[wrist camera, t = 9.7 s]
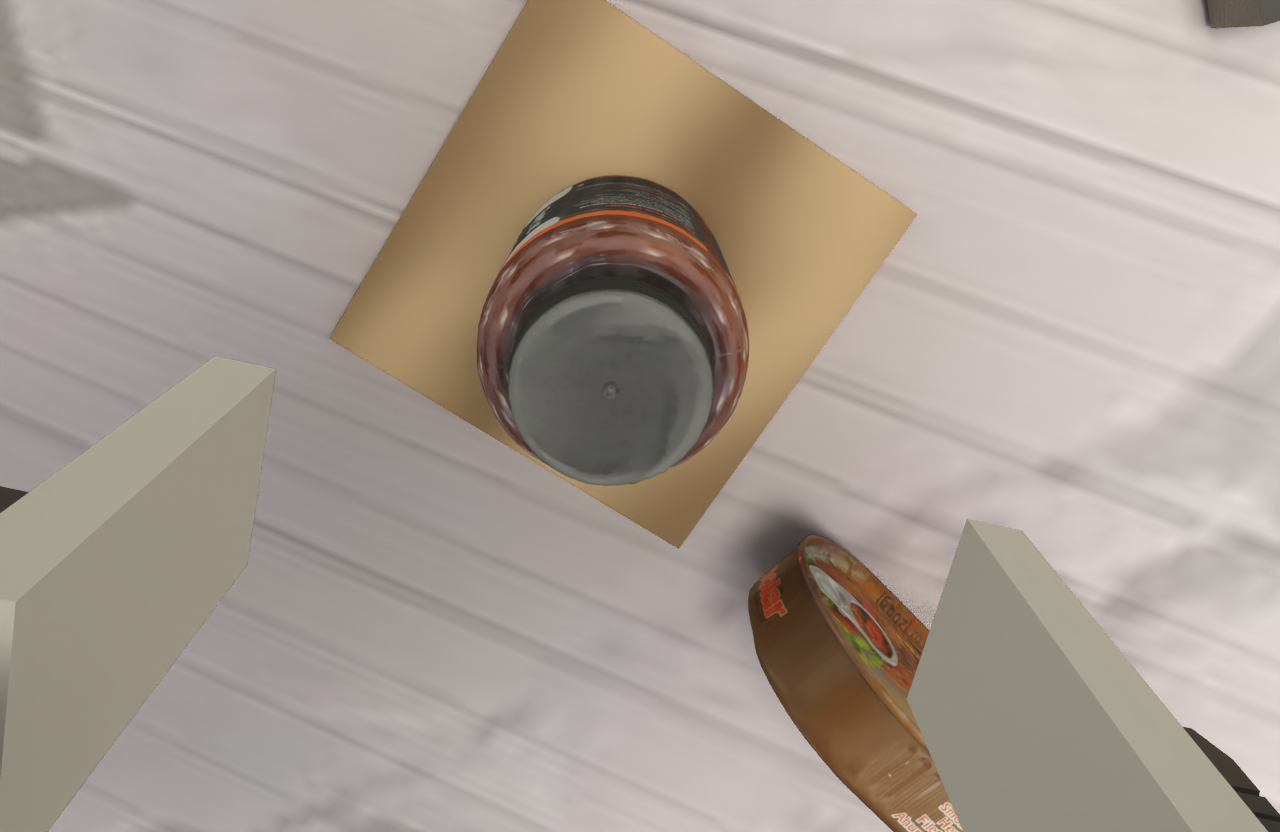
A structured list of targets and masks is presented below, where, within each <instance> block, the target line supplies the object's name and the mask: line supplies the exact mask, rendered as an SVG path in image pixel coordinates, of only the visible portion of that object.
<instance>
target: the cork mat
mask: <svg viewBox="0 0 1280 832" xmlns="http://www.w3.org/2000/svg"><path fill="white" fill-rule="evenodd" d="M606 175H622V176H632V177H639V178H643V179H646V180H650V181H653V182H655V183H658V184H660V185H662V186H664V187H666V188H668V189H670V190H672V191H674V192H676V193H677V194H678V195H680V196H681V197H682V198H684V199H685V200H686V201H687V202H688V203H689V204H690V205H691V206H692V207H693V208H694V209H695V210H696V211H697V212H698V213H699V215H700V216H701V217H702V219H703V220H704V221H705V223H706V225H707V226H708V228H709V229H710V231H711V232H712V234H713V235H714V237H715V239H716V241H717V243H718V245H719V248H720V250H721V252H722V255H723V257H724V259H725V262H726V264H727V266H728V269H729V272H730V274H731V277H732V279H733V282H734V284H735V285H736V289H737V292H738V294H739V296H740V299H741V302H742V306H743V308H744V311H745V315H746V320H747V326H748V333H749V359H748V368H747V374H746V379H745V383H744V386H743V390H742V393H741V396H740V398H739V400H738V403H737V406H736V407H735V410H734V412H733V413H732V415H731V417H730V418H729V420H728V421H727V422H726V424H725V425H724V427H723V428H722V430H721V431H720V432H719V434H718V435H717V436H716V437H715V438H714V439H713V440H712V442H710V443H709V444H708V445H707V446H706V447H705V448H704V449H702V450H701V451H700V452H698V453H697V454H696V455H694V456H693V457H691V458H690V459H689V460H687V461H685V462H684V463H682V464H680V465H679V466H677V467H675V468H673V469H671V470H668V471H666V472H664V473H662V474H659V475H657V476H655V477H652V478H650V479H646V480H643V481H640V482H638V483H636V484H625V485H610V486H602V485H592V484H586V483H583V482H580V481H577V480H574V479H572V478H569V477H567V476H565V475H563V474H561V473H559V472H558V471H556V470H554V469H553V468H551V467H550V466H548V465H546V464H544V463H543V462H541V461H540V460H539V459H537V458H534V457H533V456H531V455H530V454H528V453H527V452H526V451H525V450H524V449H523V448H522V447H520V446H519V445H518V444H516V442H515V441H514V440H513V439H512V438H511V437H510V436H509V435H508V434H507V432H506V431H505V430H504V428H503V427H502V425H501V424H500V423H499V422H498V420H497V418H496V417H495V415H494V413H493V411H492V409H491V407H490V405H489V403H488V401H487V398H486V396H485V393H484V391H483V387H482V384H481V380H480V376H479V372H478V369H477V338H478V325H479V321H480V317H481V313H482V309H483V306H484V303H485V301H486V298H487V296H488V293H489V291H490V289H491V287H492V285H493V282H494V280H495V278H496V277H497V275H498V273H499V271H500V269H501V267H502V266H503V264H504V263H505V261H506V259H507V258H508V256H509V254H510V253H511V251H512V249H513V247H514V245H515V243H516V241H517V239H518V237H519V235H520V234H521V232H522V230H523V229H524V228H525V226H526V225H527V224H528V222H529V221H530V219H531V218H532V217H533V216H534V214H535V213H536V212H537V211H538V210H539V209H540V208H541V207H542V206H543V205H544V204H545V203H546V202H547V201H549V200H550V199H551V198H552V197H553V196H555V195H557V194H558V193H559V192H561V191H562V190H564V189H566V188H568V187H570V186H572V185H575V184H577V183H579V182H582V181H584V180H587V179H591V178H595V177H600V176H606ZM916 216H917V214H916V213H915V212H913V211H912V210H910V209H909V208H907V207H906V206H904V205H903V204H902V203H900V202H899V201H897V200H896V199H894V198H893V197H891V196H890V195H888V194H887V193H885V192H884V191H883V190H881V189H880V188H878V187H877V186H875V185H874V184H872V183H871V182H869V181H868V180H867V179H865V178H864V177H862V176H861V175H859V174H858V173H856V172H855V171H853V170H852V169H850V168H849V167H848V166H846V165H845V164H843V163H842V162H840V161H839V160H837V159H836V158H834V157H833V156H831V155H830V154H829V153H827V152H826V151H824V150H823V149H821V148H820V147H818V146H817V145H815V144H814V143H813V142H811V141H810V140H808V139H807V138H805V137H804V136H802V135H801V134H799V133H798V132H796V131H795V130H794V129H792V128H791V127H789V126H788V125H786V124H785V123H783V122H782V121H780V120H779V119H777V118H776V117H775V116H773V115H772V114H770V113H769V112H767V111H766V110H764V109H763V108H761V107H760V106H759V105H757V104H756V103H754V102H753V101H751V100H750V99H748V98H747V97H745V96H744V95H742V94H741V93H740V92H738V91H737V90H735V89H734V88H732V87H731V86H729V85H728V84H726V83H725V82H723V81H722V80H721V79H719V78H718V77H716V76H715V75H713V74H712V73H710V72H709V71H707V70H706V69H705V68H703V67H702V66H700V65H699V64H697V63H696V62H694V61H693V60H691V59H690V58H688V57H687V56H686V55H684V54H683V53H681V52H680V51H678V50H677V49H675V48H674V47H672V46H671V45H670V44H668V43H667V42H665V41H664V40H662V39H661V38H659V37H658V36H656V35H655V34H653V33H652V32H651V31H649V30H648V29H646V28H645V27H643V26H642V25H640V24H639V23H637V22H636V21H634V20H633V19H632V18H630V17H629V16H627V15H626V14H624V13H623V12H621V11H620V10H618V9H617V8H616V7H614V6H613V5H611V4H610V3H608V2H607V1H605V0H528V2H527V3H526V5H525V7H524V9H523V10H522V12H521V14H520V15H519V17H518V19H517V20H516V22H515V24H514V26H513V27H512V29H511V31H510V32H509V34H508V36H507V37H506V39H505V41H504V43H503V44H502V46H501V48H500V49H499V51H498V53H497V54H496V56H495V58H494V59H493V61H492V63H491V65H490V66H489V68H488V70H487V71H486V73H485V75H484V76H483V78H482V80H481V82H480V83H479V85H478V87H477V88H476V90H475V92H474V93H473V95H472V97H471V99H470V100H469V102H468V104H467V105H466V107H465V109H464V110H463V112H462V114H461V116H460V117H459V119H458V121H457V122H456V124H455V126H454V127H453V129H452V131H451V133H450V134H449V136H448V138H447V139H446V141H445V143H444V144H443V146H442V148H441V150H440V151H439V153H438V155H437V156H436V158H435V160H434V161H433V163H432V165H431V167H430V168H429V170H428V172H427V173H426V175H425V177H424V178H423V180H422V182H421V184H420V185H419V187H418V189H417V190H416V192H415V194H414V195H413V197H412V199H411V200H410V202H409V204H408V206H407V207H406V209H405V211H404V212H403V214H402V216H401V217H400V219H399V221H398V223H397V224H396V226H395V228H394V229H393V231H392V233H391V234H390V236H389V238H388V240H387V241H386V243H385V245H384V246H383V248H382V250H381V251H380V253H379V255H378V257H377V258H376V260H375V262H374V263H373V265H372V267H371V268H370V270H369V272H368V274H367V275H366V277H365V279H364V280H363V282H362V284H361V285H360V287H359V289H358V291H357V292H356V294H355V296H354V297H353V299H352V301H351V302H350V304H349V306H348V308H347V309H346V311H345V313H344V314H343V316H342V318H341V319H340V321H339V323H338V324H337V326H336V328H335V330H334V331H333V333H332V335H331V336H330V338H329V339H331V340H332V341H334V342H336V343H337V344H339V345H341V346H342V347H344V348H346V349H347V350H349V351H351V352H352V353H354V354H356V355H357V356H359V357H361V358H362V359H364V360H366V361H367V362H369V363H371V364H372V365H374V366H376V367H377V368H379V369H381V370H382V371H384V372H386V373H387V374H389V375H391V376H392V377H394V378H396V379H397V380H399V381H401V382H402V383H404V384H406V385H407V386H409V387H411V388H412V389H414V390H416V391H417V392H419V393H421V394H422V395H424V396H426V397H427V398H429V399H431V400H432V401H434V402H436V403H437V404H439V405H441V406H442V407H444V408H446V409H447V410H449V411H450V412H452V413H454V414H455V415H457V416H459V417H460V418H462V419H464V420H465V421H467V422H469V423H470V424H472V425H474V426H475V427H477V428H479V429H480V430H482V431H484V432H485V433H487V434H489V435H490V436H492V437H494V438H495V439H497V440H499V441H500V442H502V443H504V444H505V445H507V446H509V447H510V448H512V449H514V450H515V451H517V452H519V453H520V454H522V455H524V456H525V457H527V458H529V459H530V460H532V461H534V462H535V463H537V464H539V465H540V466H542V467H544V468H545V469H547V470H549V471H550V472H552V473H554V474H555V475H557V476H559V477H560V478H562V479H564V480H565V481H567V482H569V483H570V484H572V485H574V486H575V487H577V488H579V489H580V490H582V491H584V492H585V493H587V494H589V495H590V496H592V497H594V498H595V499H597V500H599V501H600V502H602V503H604V504H605V505H607V506H608V507H610V508H612V509H613V510H615V511H617V512H618V513H620V514H622V515H623V516H625V517H627V518H628V519H630V520H632V521H633V522H635V523H637V524H638V525H640V526H642V527H643V528H645V529H647V530H648V531H650V532H652V533H653V534H655V535H657V536H658V537H660V538H662V539H663V540H665V541H667V542H668V543H670V544H672V545H673V546H675V547H677V548H678V549H679V548H680V546H681V545H682V543H683V542H684V541H685V539H686V538H687V536H688V535H689V534H690V532H691V531H692V529H693V528H694V527H695V525H696V524H697V522H698V521H699V520H700V518H701V517H702V515H703V514H704V513H705V511H706V510H707V508H708V507H709V506H710V504H711V503H712V501H713V500H714V499H715V497H716V496H717V494H718V493H719V492H720V490H721V489H722V487H723V486H724V485H725V483H726V482H727V480H728V479H729V478H730V476H731V475H732V473H733V472H734V471H735V469H736V468H737V466H738V465H739V464H740V462H741V461H742V459H743V458H744V457H745V455H746V454H747V452H748V451H749V450H750V448H751V447H752V445H753V444H754V443H755V441H756V440H757V438H758V437H759V436H760V434H761V433H762V431H763V430H764V429H765V427H766V426H767V424H768V423H769V422H770V420H771V419H772V417H773V416H774V415H775V413H776V412H777V410H778V409H779V408H780V406H781V405H782V403H783V402H784V401H785V399H786V398H787V396H788V395H789V394H790V392H791V391H792V389H793V388H794V386H795V385H796V384H797V382H798V381H799V379H800V378H801V377H802V375H803V374H804V372H805V371H806V370H807V368H808V367H809V365H810V364H811V363H812V361H813V360H814V358H815V357H816V356H817V354H818V353H819V351H820V350H821V349H822V347H823V346H824V344H825V343H826V342H827V340H828V339H829V337H830V336H831V335H832V333H833V332H834V330H835V329H836V328H837V326H838V325H839V323H840V322H841V321H842V319H843V318H844V316H845V315H846V314H847V312H848V311H849V309H850V308H851V307H852V305H853V304H854V302H855V301H856V300H857V298H858V297H859V295H860V294H861V293H862V291H863V290H864V288H865V287H866V286H867V284H868V283H869V281H870V280H871V279H872V277H873V276H874V274H875V273H876V272H877V270H878V269H879V267H880V266H881V265H882V263H883V262H884V260H885V259H886V258H887V256H888V255H889V253H890V252H891V251H892V249H893V248H894V246H895V245H896V244H897V242H898V241H899V239H900V238H901V237H902V235H903V234H904V232H905V231H906V230H907V228H908V227H909V225H910V224H911V223H912V221H913V220H914V218H915V217H916Z"/></svg>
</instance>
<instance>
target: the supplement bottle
mask: <svg viewBox="0 0 1280 832" xmlns="http://www.w3.org/2000/svg"><path fill="white" fill-rule="evenodd" d="M748 359H749V333H748V326H747V320H746V315H745V311H744V308H743V306H742V302H741V299H740V296H739V294H738V292H737V289H736V285H735V284H734V282H733V279H732V277H731V274H730V272H729V269H728V266H727V264H726V262H725V259H724V257H723V255H722V252H721V250H720V248H719V245H718V243H717V241H716V239H715V237H714V235H713V234H712V232H711V231H710V229H709V228H708V226H707V225H706V223H705V221H704V220H703V219H702V217H701V216H700V215H699V213H698V212H697V211H696V210H695V209H694V208H693V207H692V206H691V205H690V204H689V203H688V202H687V201H686V200H685V199H684V198H682V197H681V196H680V195H678V194H677V193H676V192H674V191H672V190H670V189H668V188H666V187H664V186H662V185H660V184H658V183H655V182H653V181H650V180H646V179H643V178H639V177H632V176H622V175H606V176H600V177H595V178H591V179H587V180H584V181H582V182H579V183H577V184H575V185H572V186H570V187H568V188H566V189H564V190H562V191H561V192H559V193H558V194H557V195H555V196H553V197H552V198H551V199H550V200H549V201H547V202H546V203H545V204H544V205H543V206H542V207H541V208H540V209H539V210H538V211H537V212H536V213H535V214H534V216H533V217H532V218H531V219H530V221H529V222H528V224H527V225H526V226H525V228H524V229H523V230H522V232H521V234H520V235H519V237H518V239H517V241H516V243H515V245H514V247H513V249H512V251H511V253H510V254H509V256H508V258H507V259H506V261H505V263H504V264H503V266H502V267H501V269H500V271H499V273H498V275H497V277H496V278H495V280H494V282H493V285H492V287H491V289H490V291H489V293H488V296H487V298H486V301H485V303H484V306H483V309H482V313H481V317H480V321H479V325H478V338H477V369H478V372H479V376H480V380H481V384H482V387H483V391H484V393H485V396H486V398H487V401H488V403H489V405H490V407H491V409H492V411H493V413H494V415H495V417H496V418H497V420H498V422H499V423H500V424H501V425H502V427H503V428H504V430H505V431H506V432H507V434H508V435H509V436H510V437H511V438H512V439H513V440H514V441H515V442H516V444H518V445H519V446H520V447H522V448H523V449H524V450H525V451H526V452H527V453H528V454H530V455H531V456H533V457H534V458H537V459H539V460H540V461H541V462H543V463H544V464H546V465H548V466H550V467H551V468H553V469H554V470H556V471H558V472H559V473H561V474H563V475H565V476H567V477H569V478H572V479H574V480H577V481H580V482H583V483H586V484H592V485H602V486H610V485H625V484H636V483H638V482H640V481H643V480H646V479H650V478H652V477H655V476H657V475H659V474H662V473H664V472H666V471H668V470H671V469H673V468H675V467H677V466H679V465H680V464H682V463H684V462H685V461H687V460H689V459H690V458H691V457H693V456H694V455H696V454H697V453H698V452H700V451H701V450H702V449H704V448H705V447H706V446H707V445H708V444H709V443H710V442H712V440H713V439H714V438H715V437H716V436H717V435H718V434H719V432H720V431H721V430H722V428H723V427H724V425H725V424H726V422H727V421H728V420H729V418H730V417H731V415H732V413H733V412H734V410H735V407H736V406H737V403H738V400H739V398H740V396H741V393H742V390H743V386H744V383H745V379H746V374H747V368H748Z"/></svg>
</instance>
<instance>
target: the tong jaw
mask: <svg viewBox="0 0 1280 832" xmlns="http://www.w3.org/2000/svg"><path fill="white" fill-rule="evenodd" d="M1207 4H1208V11H1209V17H1210V24H1211V28H1224V27H1249V26H1264V25H1267V24H1270V23H1274V22H1277V21H1280V0H1207Z"/></svg>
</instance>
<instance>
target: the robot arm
mask: <svg viewBox="0 0 1280 832" xmlns="http://www.w3.org/2000/svg"><path fill="white" fill-rule="evenodd" d="M275 373H276V369H274V368H270V367H265V366H260V365H256V364H251V363H247V362H242V361H237V360H233V359H228V358H224V357H219V356H214V357H213V358H212V359H210V360H209V361H208V362H206V363H205V364H203V365H202V366H201V367H199V368H198V369H197V370H195V371H194V372H193V373H191V374H190V375H188V376H187V377H186V378H184V379H183V380H182V381H180V382H179V383H178V384H176V385H175V386H173V387H172V388H171V389H169V390H168V391H167V392H165V393H164V394H163V395H161V396H160V397H158V398H157V399H156V400H154V401H153V402H152V403H150V404H149V405H148V406H146V407H145V408H143V409H142V410H141V411H139V412H138V413H137V414H135V415H134V416H133V417H131V418H130V419H128V420H127V421H126V422H124V423H123V424H122V425H120V426H119V427H117V428H116V429H115V430H113V431H112V432H111V433H109V434H108V435H107V436H105V437H104V438H102V439H101V440H100V441H98V442H97V443H96V444H94V445H93V446H92V447H90V448H89V449H87V450H86V451H85V452H83V453H82V454H81V455H79V456H78V457H77V458H75V459H74V460H72V461H71V462H70V463H68V464H67V465H66V466H64V467H63V468H62V469H60V470H59V471H57V472H56V473H55V474H53V475H52V476H51V477H49V478H48V479H47V480H45V481H44V482H42V483H41V484H40V485H38V486H37V487H36V488H34V489H33V490H32V491H30V492H25V491H20V490H15V489H10V488H5V487H0V832H48V830H49V829H50V828H51V826H52V825H53V824H54V822H55V821H56V820H57V818H58V817H59V816H60V814H61V813H62V812H63V810H64V809H65V808H66V806H67V805H68V804H69V802H70V801H71V800H72V798H73V797H74V796H75V794H76V793H77V792H78V790H79V789H80V788H81V786H82V785H83V784H84V782H85V781H86V780H87V778H88V777H89V776H90V774H91V773H92V772H93V770H94V769H95V768H96V766H97V765H98V764H99V762H100V761H101V760H102V758H103V757H104V755H105V754H106V753H107V751H108V750H109V749H110V747H111V746H112V745H113V743H114V742H115V741H116V739H117V738H118V737H119V735H120V734H121V733H122V731H123V730H124V729H125V727H126V726H127V725H128V723H129V722H130V721H131V719H132V718H133V717H134V715H135V714H136V713H137V711H138V710H139V709H140V707H141V706H142V705H143V703H144V702H145V701H146V699H147V698H148V697H149V695H150V694H151V693H152V691H153V690H154V689H155V687H156V686H157V685H158V683H159V682H160V681H161V679H162V678H163V677H164V675H165V674H166V673H167V671H168V670H169V669H170V667H171V666H172V664H173V663H174V662H175V660H176V659H177V658H178V656H179V655H180V654H181V652H182V651H183V650H184V648H185V647H186V646H187V644H188V643H189V642H190V640H191V639H192V638H193V636H194V635H195V634H196V632H197V631H198V630H199V628H200V627H201V626H202V624H203V623H204V622H205V620H206V619H207V618H208V616H209V615H210V614H211V612H212V611H213V610H214V608H215V607H216V606H217V604H218V603H219V602H220V600H221V599H222V598H223V596H224V595H225V594H226V592H227V591H228V590H229V588H230V587H231V586H232V584H233V583H234V582H235V580H236V579H237V578H238V576H239V575H240V574H241V572H242V571H243V569H244V568H245V567H246V565H247V564H248V557H249V550H250V543H251V536H252V530H253V523H254V516H255V509H256V502H257V495H258V489H259V482H260V475H261V468H262V461H263V455H264V448H265V441H266V434H267V427H268V420H269V414H270V407H271V400H272V393H273V386H274V380H275ZM907 701H908V703H909V706H910V708H911V710H912V713H913V715H914V717H915V720H916V722H917V724H918V727H919V729H920V732H921V734H922V736H923V739H924V741H925V743H926V746H927V748H928V750H929V753H930V755H931V757H932V760H933V762H934V764H935V767H936V769H937V771H938V774H939V776H940V778H941V781H942V783H943V785H944V788H945V790H946V792H947V795H948V797H949V799H950V802H951V804H952V807H953V809H954V811H955V814H956V816H957V818H958V821H959V823H960V825H961V828H962V830H963V832H1280V814H1279V813H1278V812H1277V811H1276V810H1275V809H1274V807H1273V806H1272V805H1271V804H1270V803H1269V801H1268V800H1267V799H1266V798H1265V797H1261V796H1259V792H1260V791H1259V790H1258V789H1257V787H1256V786H1255V785H1254V784H1253V783H1252V782H1251V780H1250V779H1249V778H1248V777H1247V776H1246V774H1245V773H1244V772H1243V771H1242V770H1241V769H1240V767H1239V766H1238V765H1237V764H1236V763H1235V762H1234V760H1233V759H1231V758H1230V757H1229V756H1227V755H1226V754H1225V753H1223V752H1222V751H1221V750H1219V749H1218V748H1217V747H1215V746H1214V745H1213V744H1211V743H1210V742H1209V741H1207V740H1206V739H1205V738H1203V737H1202V736H1201V735H1199V734H1198V733H1197V732H1195V731H1194V730H1193V729H1191V728H1186V727H1182V726H1181V725H1180V723H1179V722H1178V721H1177V720H1176V718H1175V717H1174V716H1173V715H1172V713H1171V712H1170V711H1169V710H1168V709H1167V707H1166V706H1165V705H1164V704H1163V702H1162V701H1161V700H1160V699H1159V698H1158V696H1157V695H1156V694H1155V693H1154V691H1153V690H1152V689H1151V688H1150V687H1149V685H1148V684H1147V683H1146V682H1145V680H1144V679H1143V678H1142V677H1141V676H1140V674H1139V673H1138V672H1137V671H1136V669H1135V668H1134V667H1133V666H1132V665H1131V663H1130V662H1129V661H1128V660H1127V658H1126V657H1125V656H1124V655H1123V654H1122V652H1121V651H1120V650H1119V649H1118V647H1117V646H1116V645H1115V644H1114V643H1113V641H1112V640H1111V639H1110V638H1109V636H1108V635H1107V634H1106V633H1105V632H1104V630H1103V629H1102V628H1101V627H1100V625H1099V624H1098V623H1097V622H1096V621H1095V619H1094V618H1093V617H1092V616H1091V614H1090V613H1089V612H1088V611H1087V610H1086V608H1085V607H1084V606H1083V605H1082V603H1081V602H1080V601H1079V600H1078V599H1077V597H1076V596H1075V595H1074V594H1073V592H1072V591H1071V590H1070V589H1069V588H1068V586H1067V585H1066V584H1065V583H1064V581H1063V580H1062V579H1061V578H1060V577H1059V575H1058V574H1057V573H1056V572H1055V570H1054V569H1053V568H1052V567H1051V565H1050V564H1049V563H1048V562H1047V561H1046V559H1045V558H1044V557H1043V556H1042V554H1041V553H1040V552H1039V551H1038V550H1037V548H1036V547H1035V546H1034V545H1033V543H1032V542H1031V541H1030V540H1029V539H1028V537H1027V536H1026V535H1025V534H1024V532H1023V531H1020V530H1016V529H1011V528H1006V527H1002V526H997V525H993V524H988V523H983V522H979V521H974V520H970V519H967V521H966V524H965V527H964V530H963V533H962V536H961V539H960V542H959V545H958V548H957V551H956V554H955V557H954V560H953V563H952V566H951V569H950V572H949V575H948V578H947V581H946V584H945V587H944V589H943V592H942V595H941V598H940V601H939V604H938V607H937V610H936V613H935V616H934V619H933V622H932V625H931V628H930V631H929V634H928V637H927V640H926V643H925V646H924V649H923V652H922V655H921V658H920V661H919V664H918V667H917V670H916V673H915V676H914V679H913V682H912V685H911V688H910V691H909V694H908V697H907Z"/></svg>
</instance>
